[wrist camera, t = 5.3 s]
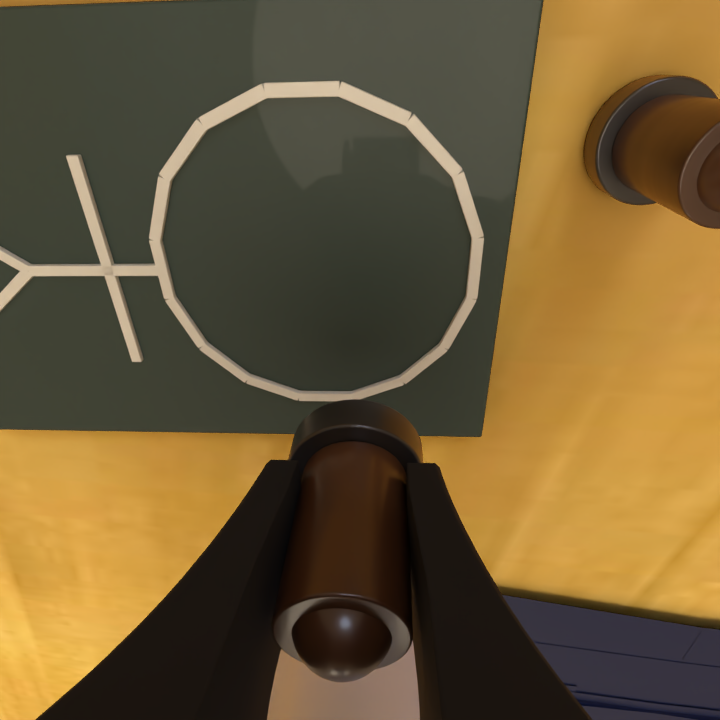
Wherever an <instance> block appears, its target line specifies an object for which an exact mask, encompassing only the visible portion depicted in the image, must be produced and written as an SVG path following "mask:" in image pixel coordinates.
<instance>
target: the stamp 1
mask: <svg viewBox="0 0 720 720" xmlns="http://www.w3.org/2000/svg"><path fill="white" fill-rule="evenodd" d="M288 460H298V464H299V472H300V480H301V485H300V490H299V494H298V499H297V504H296V509H295V514H294V518H293V523H292V528H291V533H290V537H289V542H288V547H287V552H286V556H285V561H284V566H283V571H282V575H281V580H280V585H279V590H278V595H277V599H276V604H275V609H274V614H273V618H272V624H271V628H272V634H273V637H274V640H275V641H276V643H277V644H278V646H279V647H280V648H281V649H282V650H283V651H284V652H285V653H287V654H288V655H289V656H291V657H292V658H294V659H296V660H298V661H300V662H302V663H304V664H305V665H306V666H307V667H308V668H309V669H310V670H311V671H312V672H313V673H315V674H316V675H318V676H319V677H321V678H323V679H326V680H329V681H333V682H351V681H355V680H358V679H361V678H363V677H365V676H367V675H368V674H370V673H371V672H372V671H374V670H375V669H379V668H383V667H386V666H388V665H390V664H392V663H394V662H396V661H398V660H399V659H401V658H402V657H403V656H404V655H405V654H406V653H407V652H408V650H409V649H410V646H411V644H412V641H413V617H412V593H411V568H410V546H409V533H408V523H407V499H406V471H407V463H423V454H422V445H421V440H420V438H419V435H418V433H417V431H416V430H415V428H414V427H413V425H412V424H411V423H410V422H409V421H408V420H407V419H406V418H405V417H404V416H403V415H402V414H400V413H399V412H397V411H396V410H394V409H392V408H390V407H388V406H386V405H383V404H381V403H377V402H374V401H368V400H359V399H349V400H341V401H336V402H332V403H329V404H326V405H324V406H321V407H320V408H318V409H316V410H314V411H313V412H312V413H310V414H309V415H308V416H307V417H306V418H305V419H304V420H303V421H302V422H301V424H300V425H299V426H298V428H297V430H296V432H295V435H294V439H293V443H292V446H291V450H290V454H289V458H288Z"/></svg>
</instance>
